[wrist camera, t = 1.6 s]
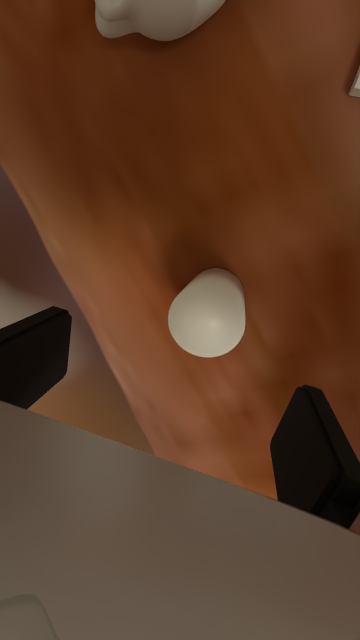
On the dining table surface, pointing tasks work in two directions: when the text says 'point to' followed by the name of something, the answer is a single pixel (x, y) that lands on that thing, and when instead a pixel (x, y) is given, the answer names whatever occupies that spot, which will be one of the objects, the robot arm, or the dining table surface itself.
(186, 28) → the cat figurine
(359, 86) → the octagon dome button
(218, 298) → the cream cap
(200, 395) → the dining table surface
